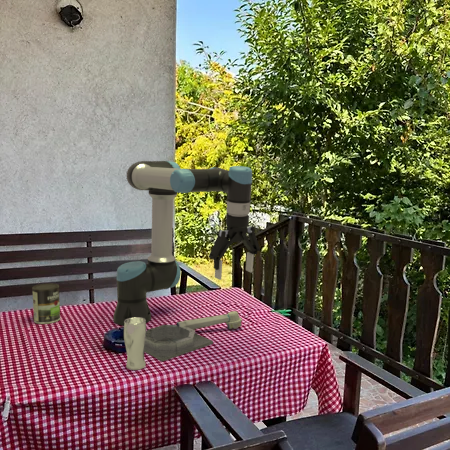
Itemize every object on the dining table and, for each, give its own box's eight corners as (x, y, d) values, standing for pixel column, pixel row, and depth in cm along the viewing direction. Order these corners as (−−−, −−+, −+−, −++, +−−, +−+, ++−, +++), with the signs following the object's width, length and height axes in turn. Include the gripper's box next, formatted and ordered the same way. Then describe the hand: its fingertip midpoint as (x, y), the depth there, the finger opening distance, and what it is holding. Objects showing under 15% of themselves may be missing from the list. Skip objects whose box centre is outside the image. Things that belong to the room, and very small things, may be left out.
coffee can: (66, 317, 189) (64, 284, 187) (48, 325, 179) (46, 291, 177) (46, 314, 193) (45, 282, 191) (27, 322, 183) (26, 288, 181)
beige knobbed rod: (175, 320, 173) (238, 306, 179) (178, 336, 174) (240, 322, 180) (177, 324, 168) (241, 310, 174) (180, 341, 169) (244, 326, 175)
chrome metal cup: (128, 372, 140) (127, 325, 138) (122, 363, 146) (121, 318, 144) (149, 368, 143) (149, 322, 141) (143, 359, 149) (142, 315, 147)
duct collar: (126, 341, 164) (126, 332, 163) (175, 327, 178) (175, 318, 178) (162, 361, 148) (162, 351, 147) (213, 343, 162) (213, 334, 162)
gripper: (214, 220, 139) (210, 285, 144) (273, 212, 154) (268, 271, 159) (200, 215, 144) (197, 277, 150) (258, 208, 160) (254, 265, 165)
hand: (233, 274), depth 155 cm, fingers open, 13 cm apart
